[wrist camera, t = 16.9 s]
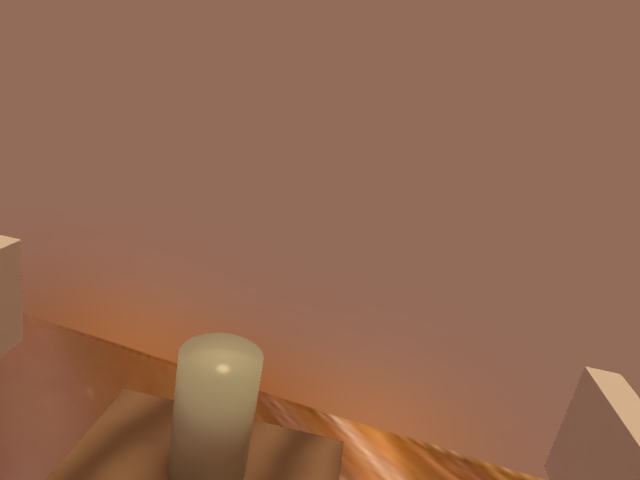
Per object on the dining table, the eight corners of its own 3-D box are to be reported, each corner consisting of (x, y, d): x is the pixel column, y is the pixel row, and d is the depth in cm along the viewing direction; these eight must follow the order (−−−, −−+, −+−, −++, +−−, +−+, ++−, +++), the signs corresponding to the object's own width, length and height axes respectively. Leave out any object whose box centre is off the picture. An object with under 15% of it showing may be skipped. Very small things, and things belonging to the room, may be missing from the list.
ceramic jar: (254, 450, 45) (272, 343, 41) (232, 508, 39) (250, 389, 35) (186, 432, 45) (197, 325, 42) (153, 487, 39) (163, 367, 36)
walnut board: (340, 454, 48) (343, 441, 48) (321, 594, 35) (325, 579, 35) (123, 401, 50) (124, 388, 49) (27, 516, 37) (27, 501, 36)
